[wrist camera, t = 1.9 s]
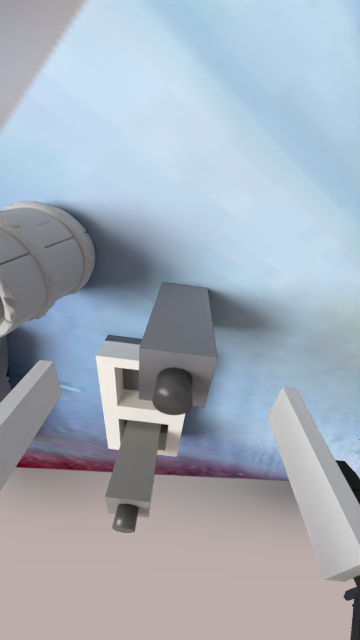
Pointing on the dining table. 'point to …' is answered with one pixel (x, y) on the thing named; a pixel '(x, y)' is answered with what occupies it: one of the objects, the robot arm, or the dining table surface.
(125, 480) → the twin plug
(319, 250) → the dining table surface
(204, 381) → the plug
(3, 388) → the bible
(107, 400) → the strip
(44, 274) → the mug
